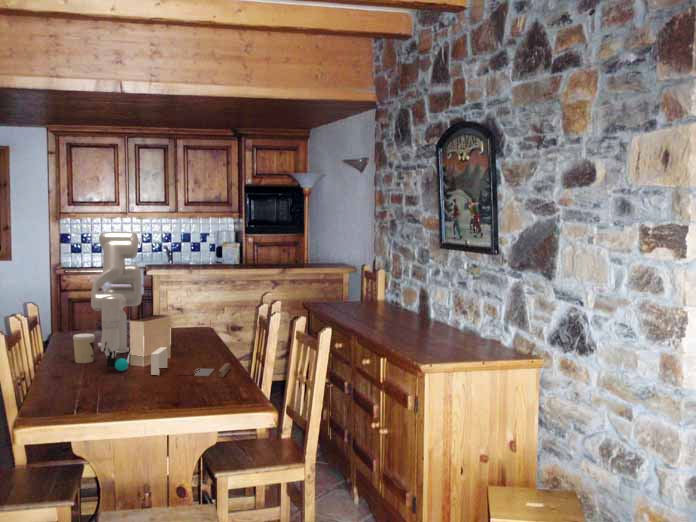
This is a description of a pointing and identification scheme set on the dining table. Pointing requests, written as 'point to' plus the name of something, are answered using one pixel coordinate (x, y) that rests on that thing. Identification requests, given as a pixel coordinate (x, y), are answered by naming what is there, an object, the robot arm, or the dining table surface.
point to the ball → (121, 364)
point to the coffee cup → (84, 348)
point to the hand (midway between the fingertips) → (111, 366)
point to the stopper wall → (224, 370)
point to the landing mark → (203, 372)
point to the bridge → (158, 360)
